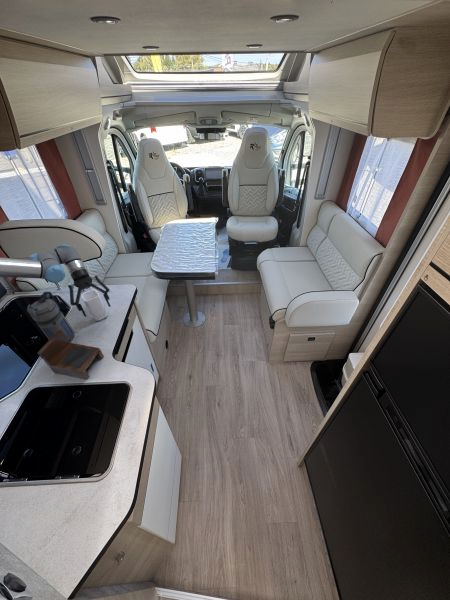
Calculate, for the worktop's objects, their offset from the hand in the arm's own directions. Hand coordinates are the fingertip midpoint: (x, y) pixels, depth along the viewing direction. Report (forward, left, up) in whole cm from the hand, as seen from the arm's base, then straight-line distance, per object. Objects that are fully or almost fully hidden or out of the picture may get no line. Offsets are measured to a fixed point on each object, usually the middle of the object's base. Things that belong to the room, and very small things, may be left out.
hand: (97, 311), depth 126 cm
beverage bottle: (-11, -14, -6) cm, 19 cm away
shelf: (+6, -26, -6) cm, 28 cm away
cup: (-2, +2, -6) cm, 7 cm away
